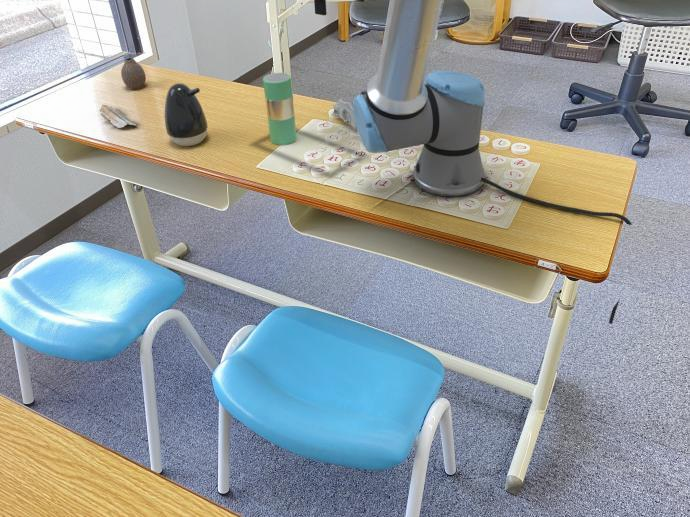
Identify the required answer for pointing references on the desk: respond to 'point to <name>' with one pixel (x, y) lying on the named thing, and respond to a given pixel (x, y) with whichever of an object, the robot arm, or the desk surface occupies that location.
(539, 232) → the desk surface
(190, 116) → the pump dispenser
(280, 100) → the can
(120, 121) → the fossil
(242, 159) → the desk surface
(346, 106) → the garden wall model
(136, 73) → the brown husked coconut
